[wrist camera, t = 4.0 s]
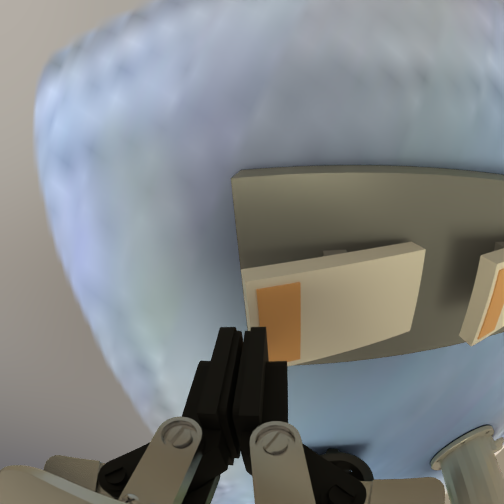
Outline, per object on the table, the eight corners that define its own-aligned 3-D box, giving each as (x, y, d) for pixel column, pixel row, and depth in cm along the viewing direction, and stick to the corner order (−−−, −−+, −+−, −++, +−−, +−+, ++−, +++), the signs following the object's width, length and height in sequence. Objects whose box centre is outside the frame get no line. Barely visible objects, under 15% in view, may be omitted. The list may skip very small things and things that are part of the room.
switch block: (514, 176, 15) (556, 190, 10) (490, 305, 19) (518, 337, 15) (240, 169, 17) (226, 182, 13) (256, 330, 22) (250, 378, 17)
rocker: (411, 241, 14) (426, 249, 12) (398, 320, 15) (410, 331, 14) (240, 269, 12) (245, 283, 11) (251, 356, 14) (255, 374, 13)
